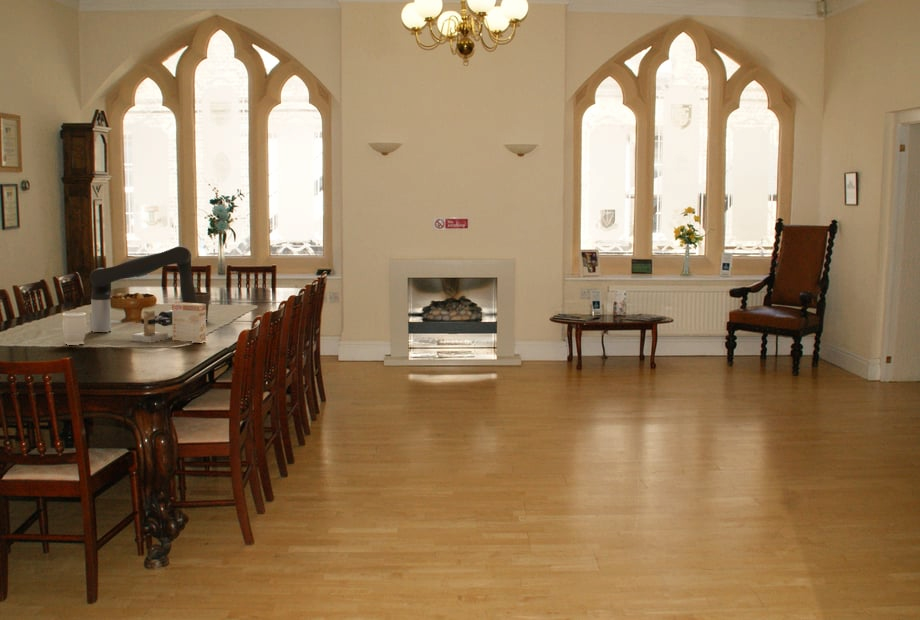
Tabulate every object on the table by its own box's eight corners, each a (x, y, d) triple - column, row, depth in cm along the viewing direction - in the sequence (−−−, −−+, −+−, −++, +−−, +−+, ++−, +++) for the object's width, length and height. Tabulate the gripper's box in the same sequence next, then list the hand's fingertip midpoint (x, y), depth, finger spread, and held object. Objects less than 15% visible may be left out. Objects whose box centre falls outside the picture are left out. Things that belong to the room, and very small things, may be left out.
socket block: (131, 342, 436) (131, 334, 435) (149, 339, 446) (149, 331, 446) (150, 344, 431) (150, 336, 430) (167, 341, 442) (167, 333, 441)
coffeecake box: (206, 342, 443) (206, 303, 440) (198, 344, 436) (198, 305, 433) (180, 340, 447) (179, 301, 444) (171, 342, 440) (171, 303, 437)
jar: (78, 341, 432) (78, 311, 430) (91, 344, 427) (90, 313, 425) (58, 344, 424) (57, 313, 422) (70, 347, 418) (70, 315, 416)
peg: (144, 339, 438) (143, 311, 436) (149, 338, 441) (149, 310, 439) (149, 340, 436) (149, 311, 434) (155, 339, 439) (154, 311, 438)
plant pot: (181, 319, 516) (181, 291, 514) (210, 319, 521) (210, 291, 519) (181, 323, 500) (181, 295, 498) (211, 323, 505) (211, 295, 503)
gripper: (158, 309, 453) (133, 313, 437) (180, 311, 447) (156, 315, 431) (159, 323, 454) (134, 328, 438) (180, 326, 448) (156, 330, 432)
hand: (145, 321), depth 435 cm, fingers closed on peg, 3 cm apart
